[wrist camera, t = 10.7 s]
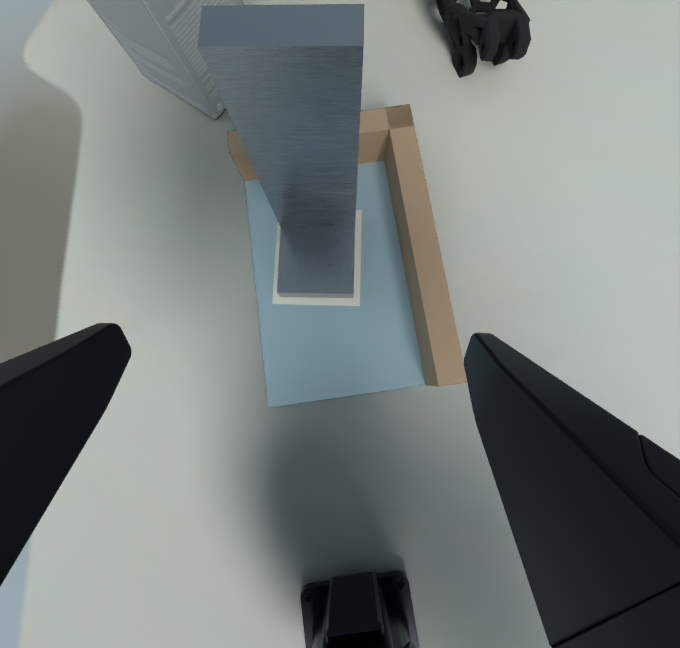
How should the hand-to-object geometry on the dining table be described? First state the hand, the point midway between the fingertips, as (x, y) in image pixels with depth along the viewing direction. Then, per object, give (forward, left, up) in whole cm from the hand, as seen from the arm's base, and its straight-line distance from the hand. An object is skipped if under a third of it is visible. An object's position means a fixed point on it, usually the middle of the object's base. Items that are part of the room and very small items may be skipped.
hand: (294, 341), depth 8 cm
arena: (+7, -2, -14) cm, 15 cm away
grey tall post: (+7, 0, -13) cm, 15 cm away
